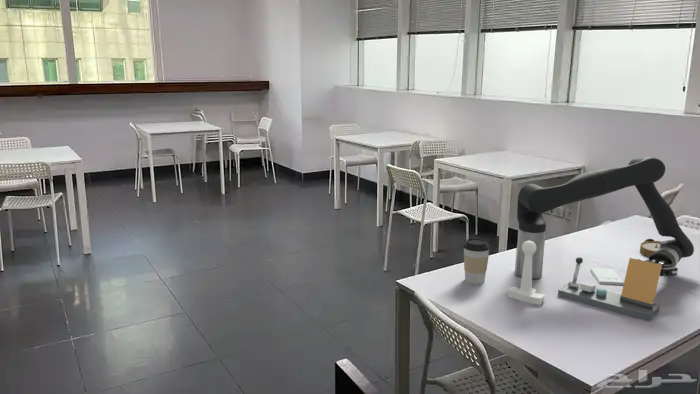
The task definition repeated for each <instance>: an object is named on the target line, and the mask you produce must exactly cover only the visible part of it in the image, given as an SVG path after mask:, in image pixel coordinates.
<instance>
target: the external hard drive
mask: <svg viewBox="0 0 700 394" xmlns="http://www.w3.org/2000/svg"><path fill="white" fill-rule="evenodd" d="M590 273H592V274H591V275H593V276H594V278H595V279H596V282H597V283H598V284H600V285H618V286H623V285H624V281H623V279H622V278H621V277H620V276H619V274H618V273H617V271H615V269H614V268H613V269H612V268H597V267H595V268H594V267H593V268H592V267H591V268H590Z"/></svg>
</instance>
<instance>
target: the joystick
mask: <svg viewBox="0 0 700 394" xmlns="http://www.w3.org/2000/svg"><path fill="white" fill-rule="evenodd" d="M536 248H537V247H536V244H535V243H534V242H533V241H525V242H524V243H523V245H522V250H523V252H524V254H525V257H524V265H523V272H522V277H521V280H520V285H519V286H520V288H518V287H516V286H511V287H510V288H508V292H507V297H510V298H512V299H514V300H518V301H519V302H522V303H523V302H524V303H527V304H531V305H539V306H540V305H542V303H543V302H544V301H545V297H546V296H545V294H542V293H537V289H536V288H533V285H532V284H533V279H532V255H533V253H535V251H536Z"/></svg>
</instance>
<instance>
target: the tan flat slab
mask: <svg viewBox="0 0 700 394" xmlns="http://www.w3.org/2000/svg"><path fill="white" fill-rule="evenodd" d="M628 260H629V261H628V264H627V268H626V274H625V277H624V281H623V282H624V285H622V286H623V287H622V291H621V296H620V301H624V302H628V303H632V304H635V305H639V306H643V307H646V308H650V309H653V303H654V301H655V297H656V295H657V288H658V284H659V279H660V277H661V276H660V272H661V267H662V265H661V264H656V263H652V262H647V261H645V260H641V259H640V260H638V259H637V258H633V257H629V259H628Z"/></svg>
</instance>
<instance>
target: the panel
mask: <svg viewBox="0 0 700 394" xmlns="http://www.w3.org/2000/svg"><path fill="white" fill-rule="evenodd" d="M569 282H572V281H571V280H570V281H569ZM569 282H567V283H566V284H565V285H563V286H562V287H560V288H559V289H558V290H557V296H558V297H562V298H565V299H569V300H572V301H576V302H579V303H583V304H587V305H590V306H593V307H598V308H601V309H604V310H607V311H612V312H614V313H617V314H622V315H625V316H628V317H629V316H630V317H632V318H635V319H636V318H637V319H639V320H643V321H646V322H651V321H652V320H653V319H654V317H656V315H657V314H658V313H659V312H660V309H661V304H658V303H656V302H655V303H653V309H650V308H646V307H643V306H639V305H635V304H632V303H628V302H624V301H620V296H621V294H622V293H621V294H620V293H617V292H613V291H609V290H607V294H606V296H605V297H601V296H598V295H596V291H597V289H598V288H597V287H596V289H595V291H592V292H588V291H585V290H581V289H579V288H580V284H581V283H578V282H576V284H579V288H578V289H576V288H572V287H568V283H569Z"/></svg>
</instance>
